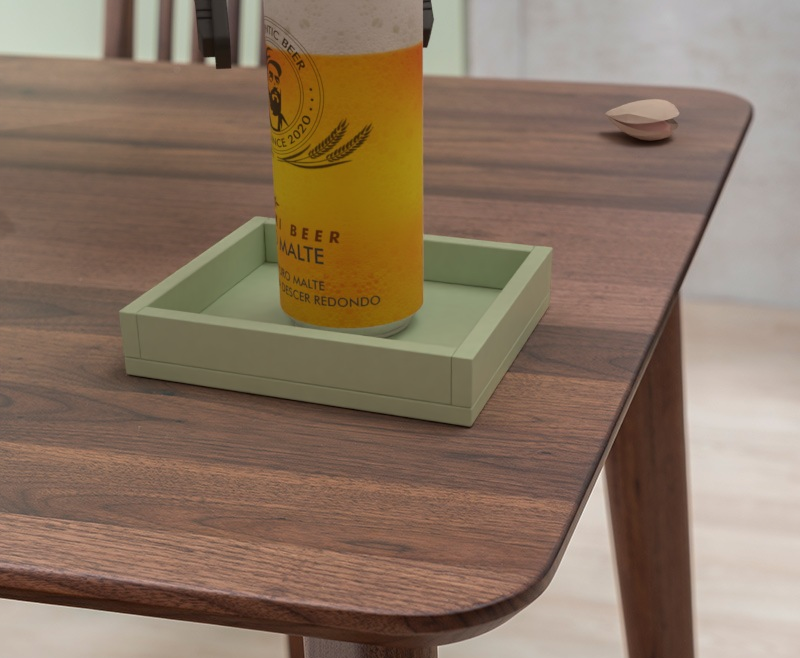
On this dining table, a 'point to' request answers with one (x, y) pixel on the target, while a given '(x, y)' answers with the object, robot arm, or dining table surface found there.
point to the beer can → (347, 161)
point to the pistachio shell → (645, 119)
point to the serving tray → (340, 352)
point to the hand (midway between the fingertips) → (318, 55)
